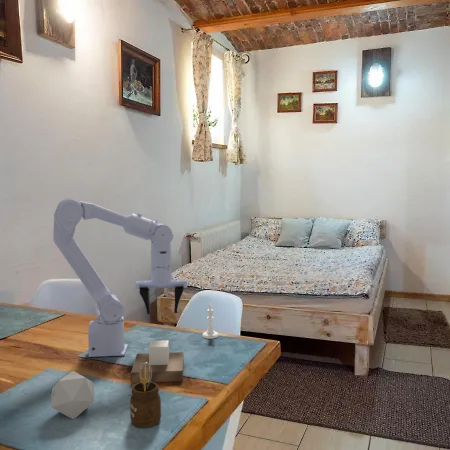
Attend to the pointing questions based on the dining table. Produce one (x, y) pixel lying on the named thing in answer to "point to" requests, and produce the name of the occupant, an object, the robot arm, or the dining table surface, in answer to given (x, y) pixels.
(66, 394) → the die
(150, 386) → the utensil holder
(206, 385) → the dining table surface
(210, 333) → the chess piece
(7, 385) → the dining table surface
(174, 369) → the walnut block
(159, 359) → the white cube
